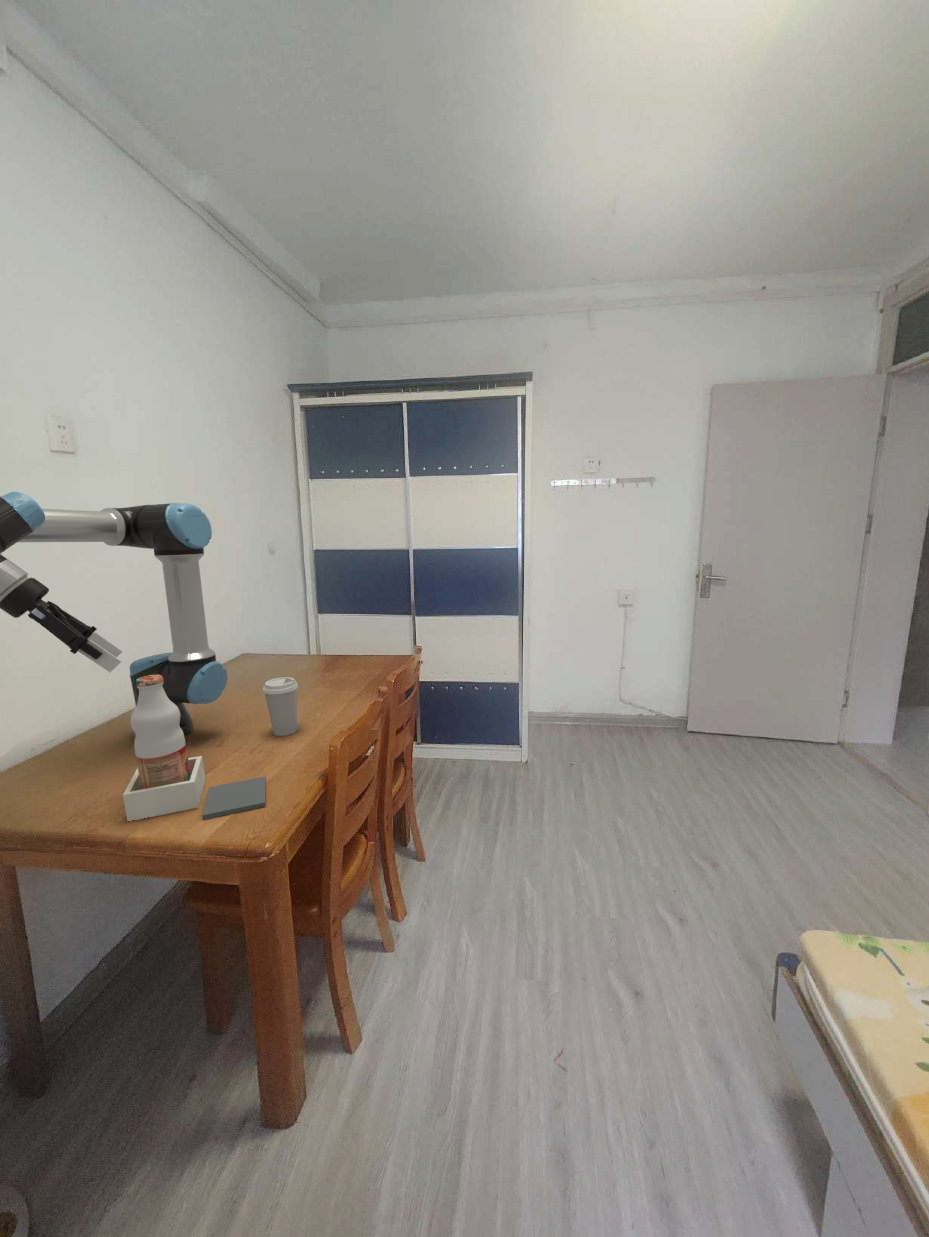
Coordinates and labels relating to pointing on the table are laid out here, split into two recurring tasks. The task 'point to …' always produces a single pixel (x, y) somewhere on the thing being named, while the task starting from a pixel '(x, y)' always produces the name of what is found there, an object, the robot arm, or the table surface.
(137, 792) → the frame
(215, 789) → the mat
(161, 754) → the fruit juice
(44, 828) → the table surface
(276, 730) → the coffee cup
